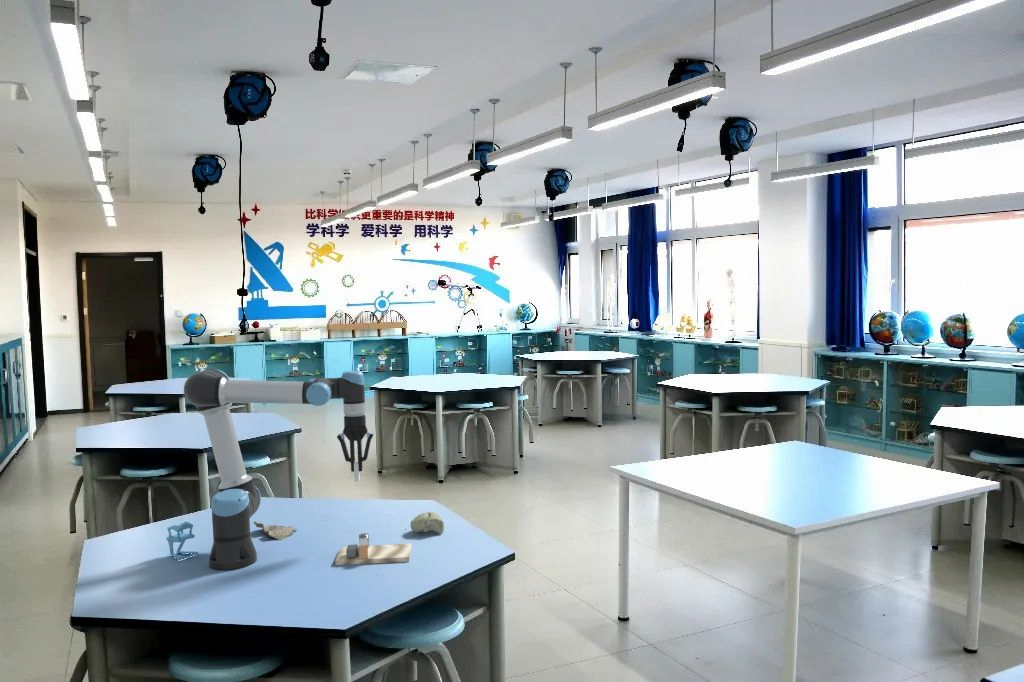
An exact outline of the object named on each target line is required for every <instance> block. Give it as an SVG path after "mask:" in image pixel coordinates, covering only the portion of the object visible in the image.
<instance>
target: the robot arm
mask: <svg viewBox="0 0 1024 682" xmlns="http://www.w3.org/2000/svg"><path fill="white" fill-rule="evenodd" d="M364 376H365V375H364V373H363V372H362V371H360V370H349V371H344V372H342V374H341V376H340V377H321V378H320V377H317V378H310V379H308V381H289V380H287V381H286V380H285V381H284V380H283V381H282V380H247V379H246V380H245V379H236V380H235V379H230V377H229V376H228V374H226V373H225V372H224V371H222V370H220V369H217V368H208V369H204V370H201V371H198V372H195V373H193V374H191V375H189V377H187V378H186V381H185V382H184V386H183V394H184V397H185V398H186V400H187V401H188V402H189V403H190V404H192V405H194V406H195V407H196V410H197V413H198V414H201V415H202V416H203V418H204V421H205V425H206V429H207V432H208V436H209V440H210V444H211V447H212V452H213V455H214V460H215V463H216V466H217V470H218V474H219V479H220V481H221V482H220V483H219V486H218V487H217V488H218V492H217V493H215V494H214V495H213V497H212V499H211V504H210V507H211V508H210V509H211V517H212V518H211V520H212V521H211V522H212V537H213V540H212V541H213V542H212V547H211V550H210V552H209V553H210V554H209V557H208V566H210V567H211V569H214V570H217V569H218V570H219V571H221V570H222V571H228V570H230V571H231V570H234V569H235V570H236V569H240V568H246V567H248V566H250V565H253V564H254V563H256V562H257V560H258V553H257V551H256V547H255V545H254V543H253V541H252V538H251V524H250V523H251V522H250V519H251V518H252V517H253V516H254V514H255V513H256V512H257V511H258V509H259V507H260V504H261V500H262V498H261V493H260V491H259V488H258V487H257V486H255V484H254V480H253V477H252V476H251V475H249V474H247V470H246V467H245V464H244V460H243V459H244V458H243V456H242V452H241V448H240V445H239V441H238V436H237V433H236V430H235V425H234V421H233V418H232V414H231V409H230V408H231V406H232V405H233V404H234V403H235V404H291V405H293V404H296V405H313V406H315V407H320V406H323V405H326V404H327V403H328V402H329V401H330V400H342V401H343V414H344V416H343V430H342V432H341V433H338V434H337V436H336V438H337V440H338V441H339V443H340V446H341V449H342V450H341V451H342V453H343V456H344V460H345V462H349V463H350V471H351V473H353V472H354V473H353V475H354V476H353V477H354V478H353V479H354V482H360V480H361V477H360V476H361V475H360V474H361V473H360V472H362V471H363V462H365V461H367V459H368V455H369V452H370V445H371V441H372V438H373V437H374V432H370V431H368V428H367V422H366V421H367V420H366V418H367V417H366V395H365V388H366V387H365V378H364ZM345 437H346V438H347V440H348V441H349V450H348V447H347V444H346V440H345ZM364 437H366V444H365V448H364V454H363V449H362V447H363V445H362V441H363V439H364ZM355 441H356V444H357V445H356V446H357V447H356V448H357V461H356V458H355V457H356V454H355V453H356V452H355ZM349 451H350V452H349ZM210 567H209V568H210Z"/></svg>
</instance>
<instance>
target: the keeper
mask: <svg viewBox="0 0 1024 682" xmlns="http://www.w3.org/2000/svg"><path fill="white" fill-rule="evenodd" d="M358 546H359V545H358V544H348V545H347V546H346V547H347V549H346V556H347V559H350V558H356V556H357V554H358Z"/></svg>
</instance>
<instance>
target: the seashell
mask: <svg viewBox="0 0 1024 682" xmlns="http://www.w3.org/2000/svg"><path fill="white" fill-rule="evenodd" d="M410 529H411V531H412V532H414V533H421V532H422V533H427V532H429V531H433V532H436V533H437V534H439V535H442V534H443V532H444V530H445V523H444V519H443V518H442V516H441V515H440V514H439V513H436V512H434V511H425V512H423V513H420V514H418V515H416V516H415V517H414V518H412V519H411V521H410Z"/></svg>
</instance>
